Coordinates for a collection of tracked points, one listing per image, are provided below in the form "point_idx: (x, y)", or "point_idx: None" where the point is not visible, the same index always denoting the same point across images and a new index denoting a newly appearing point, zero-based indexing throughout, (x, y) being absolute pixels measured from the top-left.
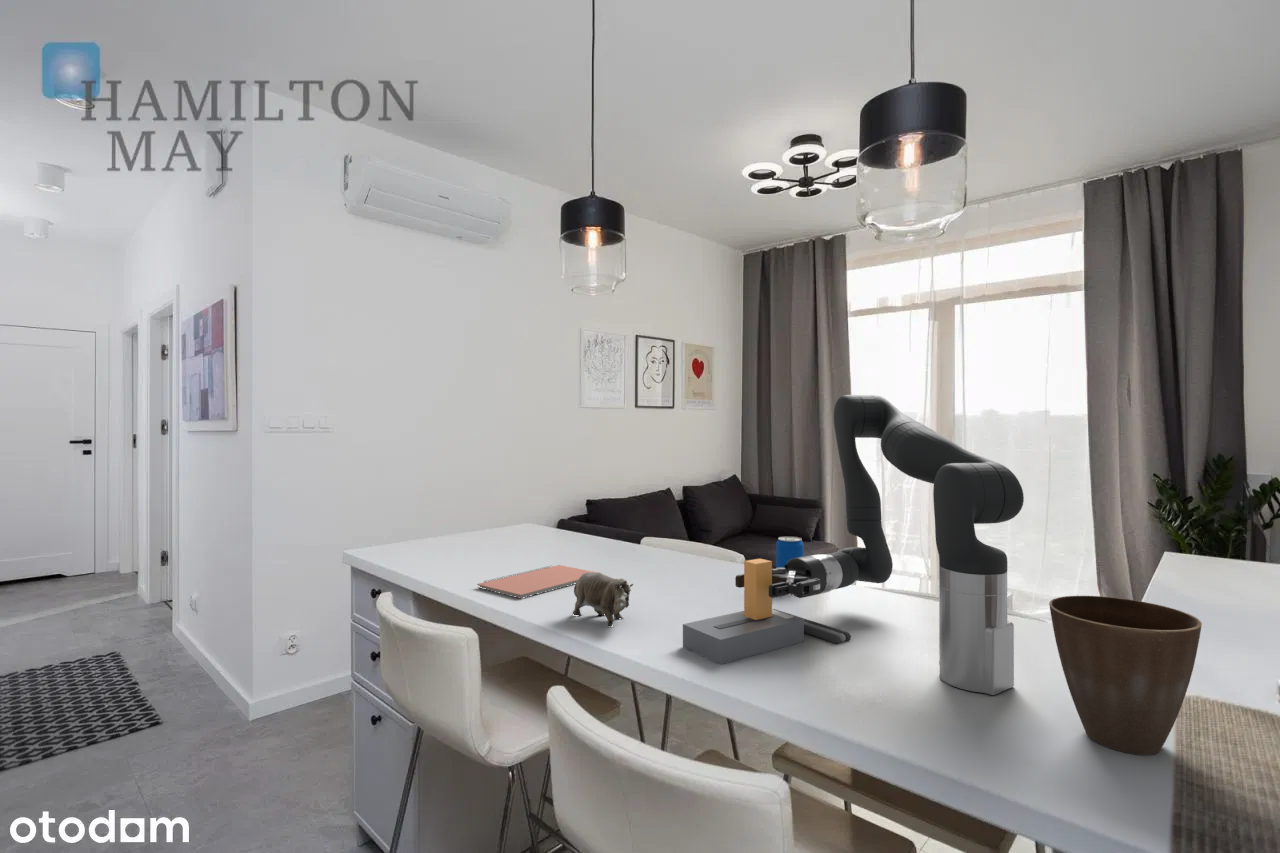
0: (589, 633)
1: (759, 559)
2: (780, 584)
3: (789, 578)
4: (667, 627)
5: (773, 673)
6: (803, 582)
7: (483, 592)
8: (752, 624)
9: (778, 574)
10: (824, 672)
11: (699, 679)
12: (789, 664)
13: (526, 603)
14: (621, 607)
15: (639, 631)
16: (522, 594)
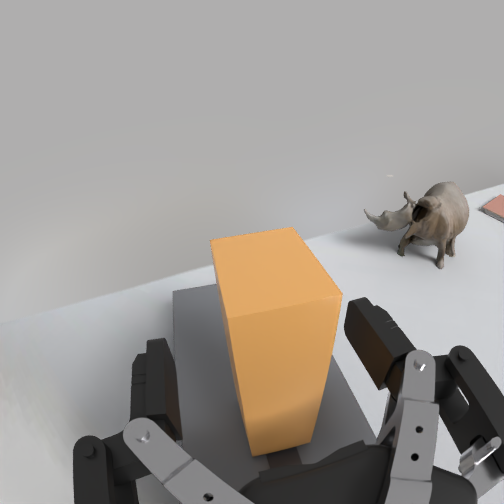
0: (371, 234)
1: (313, 283)
2: (147, 382)
3: (181, 465)
4: (399, 309)
5: (102, 369)
6: (90, 480)
7: (491, 199)
8: (224, 382)
9: (351, 482)
10: (51, 437)
11: (155, 286)
12: (111, 417)
13: (472, 213)
14: (374, 220)
15: (378, 274)
16: (485, 208)
